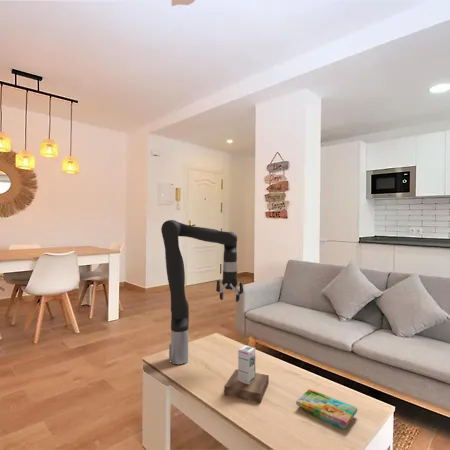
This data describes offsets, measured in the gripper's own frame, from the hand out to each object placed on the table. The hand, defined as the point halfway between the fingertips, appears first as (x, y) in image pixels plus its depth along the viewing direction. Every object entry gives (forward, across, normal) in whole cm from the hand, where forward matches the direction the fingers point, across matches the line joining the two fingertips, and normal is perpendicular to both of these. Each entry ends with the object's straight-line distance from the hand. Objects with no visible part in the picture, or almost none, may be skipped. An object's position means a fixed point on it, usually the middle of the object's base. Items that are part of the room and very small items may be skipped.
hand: (229, 300), depth 162 cm
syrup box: (+29, +16, -21) cm, 39 cm away
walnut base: (+33, +16, -21) cm, 42 cm away
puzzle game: (+34, +50, -26) cm, 65 cm away
